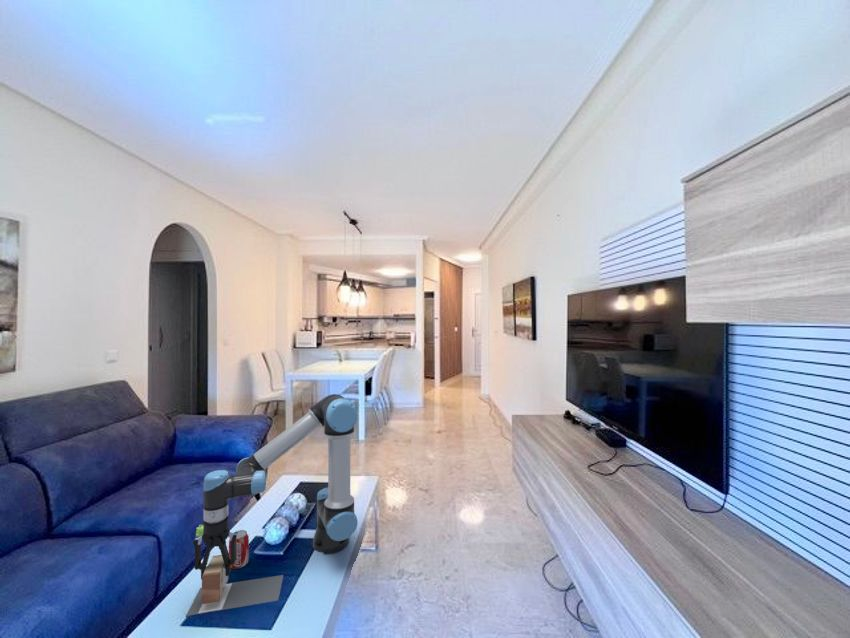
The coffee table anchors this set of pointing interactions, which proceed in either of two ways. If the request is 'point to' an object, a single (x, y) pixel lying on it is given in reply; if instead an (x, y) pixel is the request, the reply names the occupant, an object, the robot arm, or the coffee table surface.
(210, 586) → the oak block
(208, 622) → the coffee table surface
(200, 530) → the multi-spout teapot
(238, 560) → the soda can
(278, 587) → the mat
